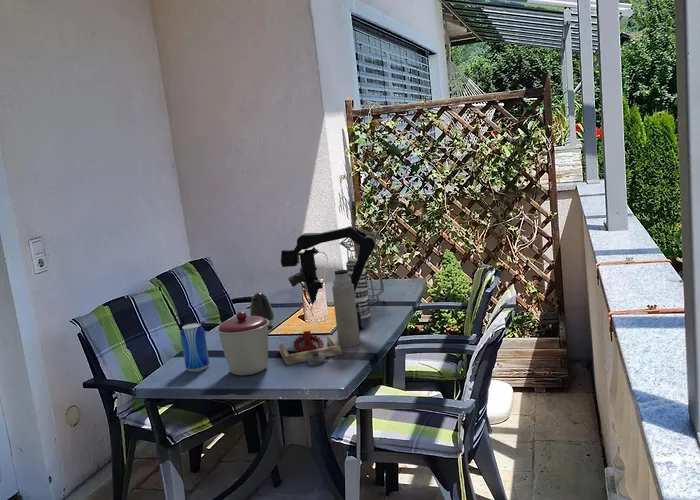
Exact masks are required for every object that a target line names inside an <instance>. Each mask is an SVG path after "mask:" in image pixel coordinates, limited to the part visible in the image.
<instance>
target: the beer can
mask: <svg viewBox="0 0 700 500" xmlns="http://www.w3.org/2000/svg"><path fill="white" fill-rule="evenodd" d="M205 333H206V332H205V328H203V326H202V324H201V323H198V322H193V323H188V324H185V325H183V326H182V327H181V332H180V339H181V346H182V352H183V358H184V359H183V360H184V365H185V369H186V370H187V371H188V372H189V373H197V372H201V371H204V370H207V369H208V367H209V365H210V359H209V351H208V345H207V338H206V334H205Z"/></svg>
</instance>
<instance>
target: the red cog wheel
mask: <svg viewBox="0 0 700 500" xmlns="http://www.w3.org/2000/svg"><path fill="white" fill-rule="evenodd" d="M293 342H294V343H293V348H294V350H295V351H296V353H299V352H304V351H310V350H315V349H320V348H324V346H325V345H324V342H323V340H322V339H321V337H320V336H319V337H318V336H317V335H313V334H311V330H306V331H303V333H302V335H298V336H297V337H296V338H295V340H294V341H293ZM301 342H304V345H303V347H301V345H300V343H301ZM314 342H315V343H317V346H316V345H314V344H313V343H314Z"/></svg>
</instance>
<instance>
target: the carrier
mask: <svg viewBox="0 0 700 500" xmlns="http://www.w3.org/2000/svg"><path fill="white" fill-rule="evenodd" d="M326 341H327V344H328V345H329V346H326V347H323V348H320V349H315V350H310V351H304V352H299V353H298V352H295V353H289V352H288V349H287V348H286V346H285V345H284V344H283V343H279V344H278V348H279V354H280V355H281V357H282V359H283V360H284V363H285V364H286V365H291V364H292V365H293V364H296V363H297V364H298V363H302V362H306V361H307V364H308V365H310V366H318V365H322V364H324V363H325V362H326V358H329V357H332V356H338V355H342V354H343V353H342V346H340V345H339V341H337V340H336V339H335V338H334V337H333V336H332V335H331V334H328V335H326Z"/></svg>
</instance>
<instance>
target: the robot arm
mask: <svg viewBox="0 0 700 500" xmlns="http://www.w3.org/2000/svg"><path fill="white" fill-rule="evenodd" d="M357 229H358V228H356V227H354V226H352V225H350V226H346V227H343V228H338V229H334V230H329V231H324V232H306V233H303V234H301V235H299V236H298V237H297V240H296V245H295V247H294V248H293V249H289V250H288V249H283V250H281V252H280V253H281V255H280V265H281V267H282V268H291V267H298V264H300V268H299V272H297V273H295V274H293V275H291V276H289V277H288V278H287V280H288V282H289V283H290V285H291V286H292V287H293V288H294V287H297V285H298V284H300V285H301V284H303V285H301V287H302V288H303V289H304V290H306V293H307V295H308V298H309V301H310V303H311V304H314V303H315V302H316V298H317V295H318V292H319V290H321V289H324V285H323V283H322V282H321V281H320V280H319V278H318V275H317V270H318V267H317V266H316V261H315V258H316V257H315V255H316V254H317V255H318V253H319V252H320V251H319V249H317V248H316V247H315V246H318V245H320V244H322V243H327V242H332V241H336V240H337V241H338V240H342V239H346V238H347V237H349V238H348V239H350V240H351V239H352V240H353V241H354V243H356V244H355V245H359V247H360V248H359V247H358V248H359V249H358V252H359V255H357V258H358V259H357V262H356V265H355V267H354V270H353V273H352V275H351V280H352V281H351V283H352V284H354V293H355V292H356V288H357V285H358V283H359V280H360V278H361V275H362V272H363V270H364V267H365V268H366V264H367V259H369V258H370V256H371V255H370V254H373V253H372V252H373V251H374V250H375V249H374V248H375V246H376V244H377V242H376V240H377V238H374V237H375V236H374V235H372V234H368V235H366V234H365V233H363V232H362V231H359V230H357ZM353 241H352V242H353ZM376 247H377V246H376ZM310 248H312V249H310ZM302 251H303V252H302ZM359 307H360V306H359V305H358V304H356V311H357V319H358V328H359V331H361V330H364V328H363V326H362V319H361V317H360V313H359V312H358V311H359Z"/></svg>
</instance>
